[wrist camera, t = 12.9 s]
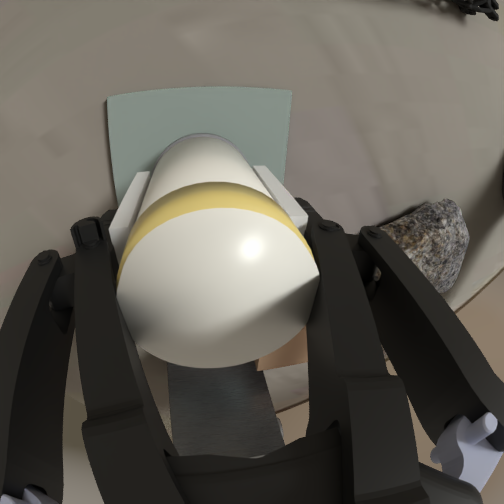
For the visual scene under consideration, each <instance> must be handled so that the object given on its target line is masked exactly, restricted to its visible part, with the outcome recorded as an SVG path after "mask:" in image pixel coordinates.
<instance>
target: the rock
mask: <svg viewBox="0 0 504 504" xmlns="http://www.w3.org/2000/svg"><path fill="white" fill-rule="evenodd" d="M378 228H379V229H381V230H383V231H384V232H385V233H387V234H388V235H389V236H390V237H391V239H392V240H393V241H394V242H395V243H396V244H397V245H398V246H399V247H400V248H401V249H402V250H403V251H404V253H405V254H406V255H407V256H408V257H409V258H410V259H411V260H412V262H413V263H414V264H415V265H416V266H417V267H418V268H419V270H420V271H421V272H422V273H423V274H424V275H425V277H426V278H427V279H428V280H429V281H430V283H431V284H432V285H433V286H434V287H435V289H436V290H437V291H438V292H439V293H444V292H446V291H448V290H449V289H451V288H452V286H453V284H454V283H455V281H456V279H457V276H458V274H459V271H460V268H461V264H462V262H463V259H464V255H465V253H466V250H467V247H468V244H469V239H470V237H469V233H468V230H467V228H466V224H465V221H464V219H463V217H462V213H461V209H460V207H459V206H457V205H456V203H455V202H453V201H452V200H449V199H446V198H444V199H443V201H441V202H436V203H433V204H428V203H425V204H423V205H421V206H420V207H418V208H417V209H416V210H415V211H414V212H412V213H411V214H408V215H405V216H403V217H401V218H399V219H397V220H395V221H393V222H391V223H389V224H387V225H383V226H380V227H378ZM380 276H381V272H380V270H379V269H378V270H377V273H376V277H377V279H378V280H379V278H380Z"/></svg>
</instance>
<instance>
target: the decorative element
mask: <svg viewBox="0 0 504 504" xmlns="http://www.w3.org/2000/svg"><path fill="white" fill-rule="evenodd" d="M452 1H453V2H455V3H456V4H458V5H459V6H460V9H461V11H463V12H464V13H466V14H470V15H476V12H481V13H485V14H486V15H487V17H488V18H489V19H491V20H493V21H498V20H499V17H498V14H497V13H496V11H495V10H497V9H499V6H498V3H497V2H496V0H452ZM477 6H479V7H477Z"/></svg>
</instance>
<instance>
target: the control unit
mask: <svg viewBox="0 0 504 504" xmlns="http://www.w3.org/2000/svg"><path fill="white" fill-rule="evenodd" d="M167 363H168V387H169V404H170V418H171V429H172V439H173V445H174V447H175V448H176V450H177V452H178V454H179V455H180V456H194V455H207V454H212V455H220V456H230V457H242V458H259V457H262V456H265V455H267V454H269V453H271V452H273V451H275V450H278V449H280V448H282V447H284V446H285V444H284V440H283V429H282V424H281V422H280V419H279V418H277V417H276V414H275V411H274V407H273V404H272V401H271V397H270V394H269V391H268V387H267V384H266V380H265V377H264V373H263V370H262V371H257V369H256V365H255V361H254V360H253V361H250V362H247V363H244V364H239V365H235V366H229V367H222V368H194V367H187V366H181V365H177V364H173V363H170V362H167Z"/></svg>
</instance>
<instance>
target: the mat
mask: <svg viewBox="0 0 504 504" xmlns="http://www.w3.org/2000/svg"><path fill="white" fill-rule="evenodd" d="M291 98H292V91H291V90H281V89H270V88H254V87H185V88H170V89H159V90H149V91H141V92H133V93H126V94H120V95H114V96H109V97H107V110H108V127H109V140H110V150H111V159H112V168H113V175H114V183H115V189H116V196H117V202H118V207H119V206H120V204H121V202H122V200H123V198H124V196H125V194H126V192H127V190H128V189H129V187H130V185H131V183H132V181H133V179H134V177H135V176H136V174H137V172H146V171H150V178H151V175H152V171H153V168H154V166H155V163H156V161H157V159H158V157H159V156H160V154H161V153H162V152H163V150H164V149H165V148H166V147H167V146H168V145H170V144H171V143H172V142H174V141H175V140H177V139H179V138H181V137H183V136H186V135H190V134H194V133H211V134H216V135H219V136H222V137H224V138H226V139H228V140H229V141H231V142H232V143H233V144H235V145H236V146H237V147H238V148H239V150H240V151H241V152H242V153H243V155H244V156H245V158H246V159H247V161H248V163H249V166H250V167H251V168H253V166H266V167H267V168H268V169H269V170H270V172H271V173H272V174H273V175H274V176H275V177H276V178H277V179H278V181H279V182H280V183H281V184H282V185H283V182H284V172H285V163H286V153H287V142H288V132H289V121H290V110H291Z"/></svg>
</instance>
